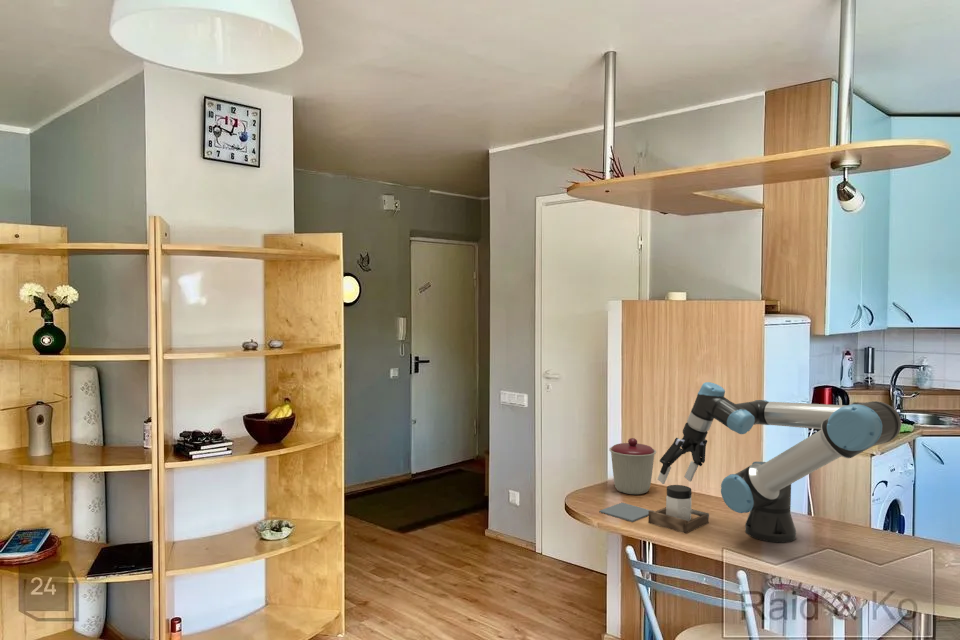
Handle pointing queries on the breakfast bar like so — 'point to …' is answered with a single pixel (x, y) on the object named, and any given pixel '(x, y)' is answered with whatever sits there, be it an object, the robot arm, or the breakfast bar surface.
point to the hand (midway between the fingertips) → (674, 480)
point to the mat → (626, 512)
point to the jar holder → (678, 520)
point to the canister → (632, 466)
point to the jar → (679, 502)
